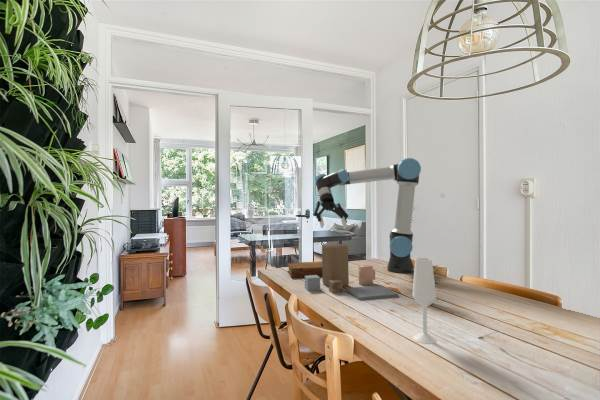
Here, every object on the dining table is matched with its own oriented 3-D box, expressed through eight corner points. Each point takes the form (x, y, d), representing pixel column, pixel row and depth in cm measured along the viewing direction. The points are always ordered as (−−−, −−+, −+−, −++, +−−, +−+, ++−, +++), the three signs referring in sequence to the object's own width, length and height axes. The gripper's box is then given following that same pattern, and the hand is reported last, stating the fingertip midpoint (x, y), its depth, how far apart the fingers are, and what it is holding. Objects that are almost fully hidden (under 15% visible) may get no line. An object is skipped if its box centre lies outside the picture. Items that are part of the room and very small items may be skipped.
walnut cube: (339, 290, 162) (338, 279, 162) (342, 292, 157) (342, 281, 157) (328, 290, 161) (328, 280, 161) (332, 293, 156) (332, 282, 156)
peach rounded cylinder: (362, 286, 168) (361, 267, 168) (356, 283, 174) (356, 265, 174) (377, 285, 169) (377, 266, 169) (371, 281, 176) (371, 264, 176)
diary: (291, 279, 188) (291, 269, 188) (287, 272, 207) (287, 263, 207) (332, 276, 192) (331, 266, 192) (324, 270, 210) (324, 260, 210)
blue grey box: (316, 287, 168) (316, 274, 168) (320, 290, 162) (320, 277, 162) (304, 288, 167) (304, 275, 167) (307, 291, 161) (307, 278, 161)
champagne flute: (421, 332, 108) (419, 256, 108) (441, 339, 102) (439, 258, 103) (408, 338, 104) (407, 258, 104) (429, 345, 98) (427, 261, 98)
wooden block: (321, 284, 174) (321, 244, 174) (338, 281, 178) (338, 243, 178) (331, 288, 165) (331, 246, 165) (349, 285, 169) (348, 245, 169)
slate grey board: (381, 287, 164) (381, 285, 164) (398, 296, 148) (398, 293, 148) (345, 290, 160) (345, 288, 160) (359, 300, 144) (359, 297, 144)
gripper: (342, 203, 202) (351, 232, 189) (303, 198, 194) (310, 229, 180) (348, 194, 197) (357, 224, 184) (308, 190, 189) (315, 221, 175)
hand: (334, 227), depth 182 cm, fingers open, 13 cm apart
